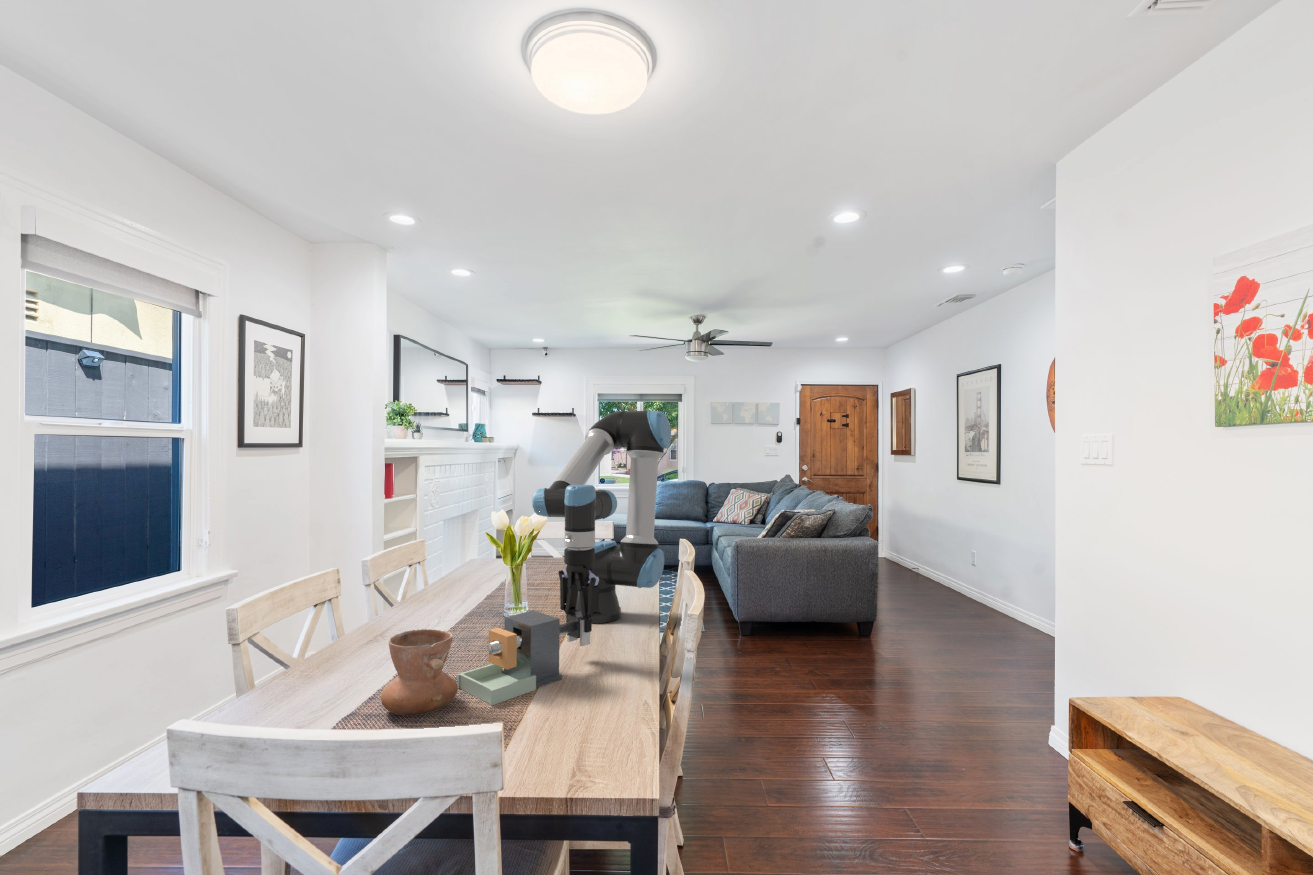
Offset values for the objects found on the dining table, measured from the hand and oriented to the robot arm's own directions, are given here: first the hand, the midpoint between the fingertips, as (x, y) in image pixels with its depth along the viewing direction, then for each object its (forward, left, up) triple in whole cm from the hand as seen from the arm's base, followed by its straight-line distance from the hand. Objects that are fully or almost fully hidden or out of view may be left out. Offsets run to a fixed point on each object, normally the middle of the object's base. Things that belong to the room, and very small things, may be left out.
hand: (578, 642), depth 151 cm
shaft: (+11, 0, +2) cm, 12 cm away
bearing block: (+14, 0, -5) cm, 15 cm away
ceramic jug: (+39, -4, -5) cm, 40 cm away
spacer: (+22, 0, +4) cm, 22 cm away
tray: (+23, 0, -5) cm, 24 cm away
